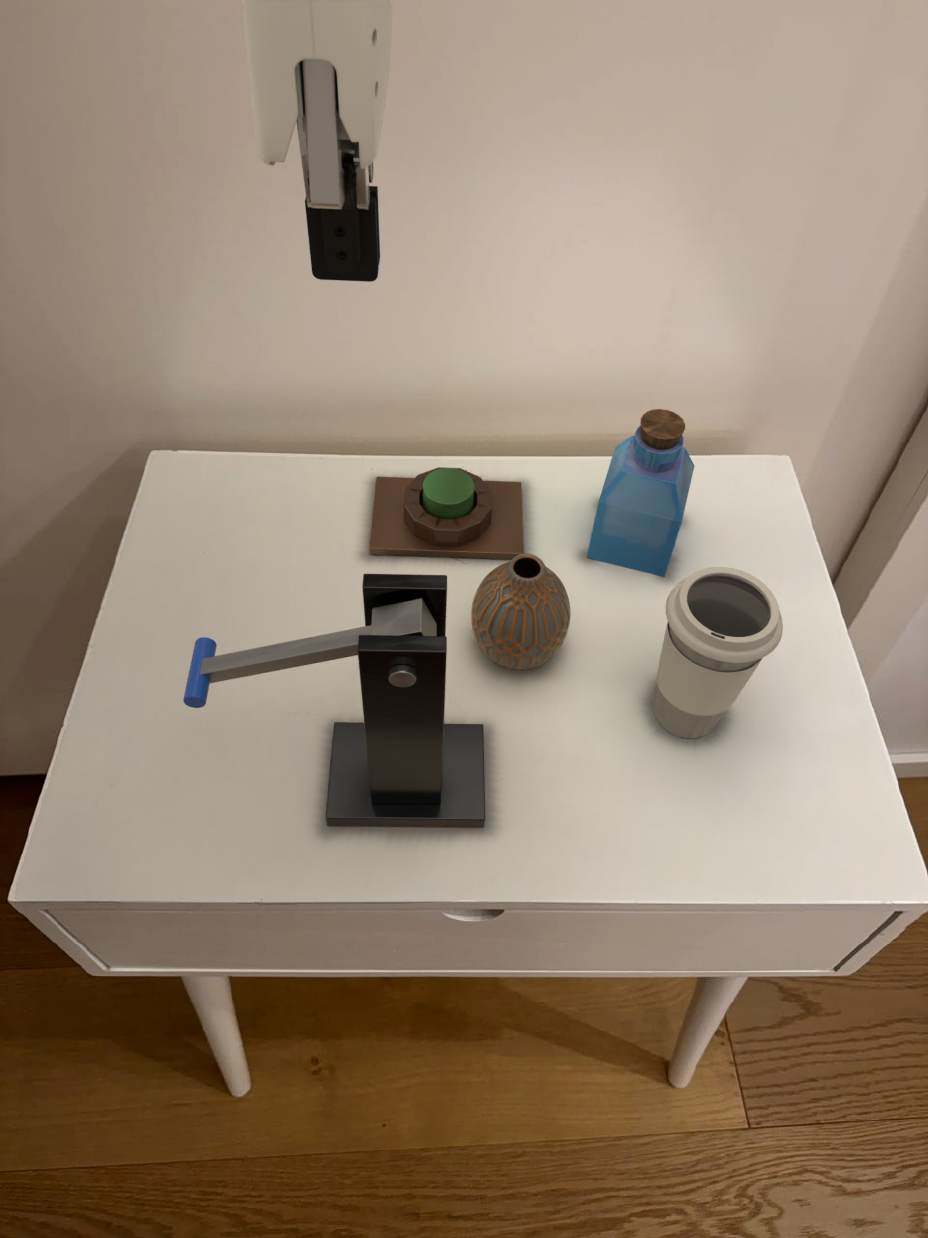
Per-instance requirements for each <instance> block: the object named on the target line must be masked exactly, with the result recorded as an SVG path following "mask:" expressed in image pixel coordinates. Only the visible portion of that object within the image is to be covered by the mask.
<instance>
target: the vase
mask: <svg viewBox="0 0 928 1238" xmlns="http://www.w3.org/2000/svg"><path fill="white" fill-rule="evenodd" d="M470 612H471V613H470V620H471V628H472V629H471V630H472V633H473V636H474V638H475V641H476V644H477V645H478V647H479V649H481V651H482V652H483V653H484V655H485V656H486V657H487V658H489V659H490V660H491V661H493V662H494V663H496V664H497V665H500V666H502V667H505V668H508V669H514V670H526V669H532V668H536V667H538V666H541V665H542V664H544V663H546V662H547V661H548V660H550V659H551V658H553V656H555V654H556V653H557V652H558V651H559V649H560V648H561V646H562V645H563V643H564V642H565V640H566V637H567V636H568V632H569V628H570V623H571V615H572V614H571V613H572V612H571V603H570V599H569V594H568V592H567V589H566V587H565V585H564V583H563V582H562V580H561V579H560V577H559V576H558V575H557V574H556V572H554V571H553V570H552V569H550V568H549V567H548V566H546V564H545V563H544V561H543V560H542V559H541V558H540V557H538V555H535V554H532V553H524V554H520V555H517V556H515V557H514V558H513V559H510V560H509V561H507V562H504V563H502V564H500V565H498V566H496V567H495V568H493V569H492V570H491V571H489V573H488V574H486V576H485V577H484V578H483V579H482V580H481V583H480V584H479V586H478V587H477V588H476V591H475V594H474V597H473V600H472V603H471V611H470Z"/></svg>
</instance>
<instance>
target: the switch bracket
mask: <svg viewBox="0 0 928 1238" xmlns="http://www.w3.org/2000/svg"><path fill="white" fill-rule="evenodd" d="M361 589H362V601H363V602H362V603H363V615H364V626H370V625H371V624H372V609H373V608H375V607H380V606H385V605H390V604H395V603H400V602H405V601H410V600H415V599H420V598H422V599H423V601H424V602H425V604H426V606H427V608H428V610H429V611H430V613H431V615H432V617H433V619H434V620H435V622H436V624H437V635H436V636H395V635H359V638H358V655H357V660H358V661H357V662H358V671H359V681H360V682H359V683H360V693H361V703H362V714H363V715H362V716H363V717H362V718H363V722H355V721H354V722H352V721H351V722H350V721H335V722H334V723H333V730H332V740H331V751H330V762H329V763H330V765H329V775H328V783H327V784H328V785H327V787H328V788H327V799H326V809H325V823H326V826H327V827H389V828H391V827H393V828H394V827H398V828H401V827H402V828H406V827H407V828H485V826H486V777H485V776H486V775H485V736H484V735H485V734H484V733H485V732H484V731H485V730H484V723H445V707H446V684H447V683H446V681H447V657H448V649H447V648H448V638H447V636H446V630H447V606H448V605H447V602H448V575H447V574H413V573H412V574H409V573H408V574H407V573H406V574H404V573H363V575H362V587H361Z"/></svg>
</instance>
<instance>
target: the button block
mask: <svg viewBox="0 0 928 1238" xmlns="http://www.w3.org/2000/svg"><path fill="white" fill-rule="evenodd" d="M442 468H444V467H441V466H438V467H436V468H433V469H430V470H427V471H424V472H421V473H419V474H417V475H416V476H415V477H401V476H400V477H397V476H395V477H394V476H376V477H375V485H374V486H375V487H374V496H373V506H372V515H371V525H370V536H369V543H368V544H369V545H368V553H369V555H380V556H409V557H438V558H439V557H441V558H465V559H466V558H467V559H468V558H469V559H491V560H493V559H494V560H511V559H513V558H514V557H515V556H517V555H520V554H525V553H524V524H523V523H524V521H523V520H524V519H523V493H522V492H523V491H522V490H523V487H522V482H521V481H510V480H509V481H508V480H507V481H505V480H484V479H483V478H482V477H481V476H479V475H477V474H475V473H473V472H470V471H468V470H465V469H463V468H461V467H453V468H454V469H458V470H461V471H463V472H465V473H467V474H468V475H469V476H470V477H471V478H472V480H473V482H474V502H473V507H472V509H471V510H470V512H469V513H467V514H466V515H465V516H463V517H461V518H458V519H440V518H437V517H434V516H433V515H431V514H430V513H429V512H427V510H426V509H425V507H424V505H423V482H424V480H425V478H426V477H427V476H428V475H429V474H430V473H431V472H433V471H435V470H438V469H442Z"/></svg>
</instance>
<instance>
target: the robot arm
mask: <svg viewBox="0 0 928 1238" xmlns="http://www.w3.org/2000/svg"><path fill="white" fill-rule="evenodd" d="M241 6H242V16H243V17H242V19H243V28H244V39H245V40H244V41H245V48H246V57H247V58H246V60H247V69H248V81H249V89H250V90H249V91H250V101H251V109H252V110H251V113H252V121H253V122H252V123H253V133H254V143H255V149H256V150H255V151H256V154H257V156H258V158H259V159H260V161H262V162H263V163H264V164H265V165H266V166H275V164H276V163H285V161H286V158H287V155H288V151H289V149H290V144H291V141H292V137H293V134H294V131H295V128H296V129H297V137H298V145H299V154H300V161H301V169H302V175H303V176H302V177H303V183H304V191H305V199H304V207H305V216H306V226H307V227H306V228H307V238H308V246H309V256H310V257H309V258H310V266H311V267H310V268H311V273H312V276H313V277H314V278H315V279H317V280H320V281H341V282H342V281H345V282H371V283H372V282H375V281H376V280H377V279H378V278H379V269H380V267H379V266H380V263H381V242H380V214H379V213H380V212H379V210H380V209H379V187H378V186H377V185H370V184H373V183H374V161H375V160H376V159H377V157H378V152H379V147H380V141H381V140H380V139H381V133H382V128H383V120H384V114H385V107H386V102H387V101H386V100H387V94H388V84H389V75H390V62H391V51H392V50H391V49H392V29H393V0H241Z"/></svg>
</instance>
